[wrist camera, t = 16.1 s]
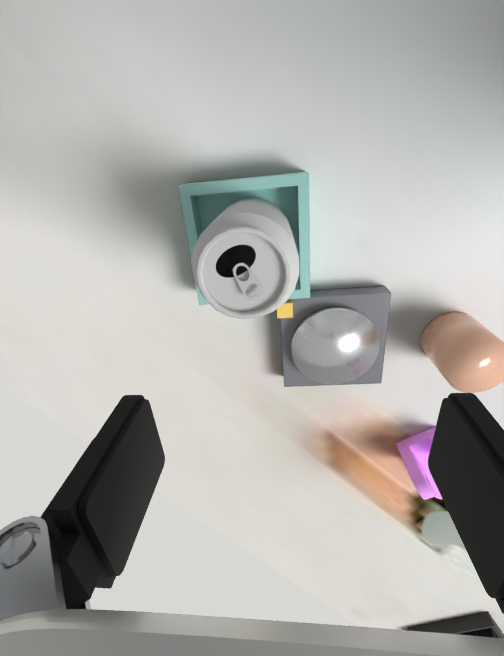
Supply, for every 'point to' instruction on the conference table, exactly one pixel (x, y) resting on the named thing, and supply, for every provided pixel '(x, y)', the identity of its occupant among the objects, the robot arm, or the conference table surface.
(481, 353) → the peach rounded knob
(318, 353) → the checker pad
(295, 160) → the conference table surface
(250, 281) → the can
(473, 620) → the computer keyboard
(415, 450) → the bracket
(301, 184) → the trough
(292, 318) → the base
